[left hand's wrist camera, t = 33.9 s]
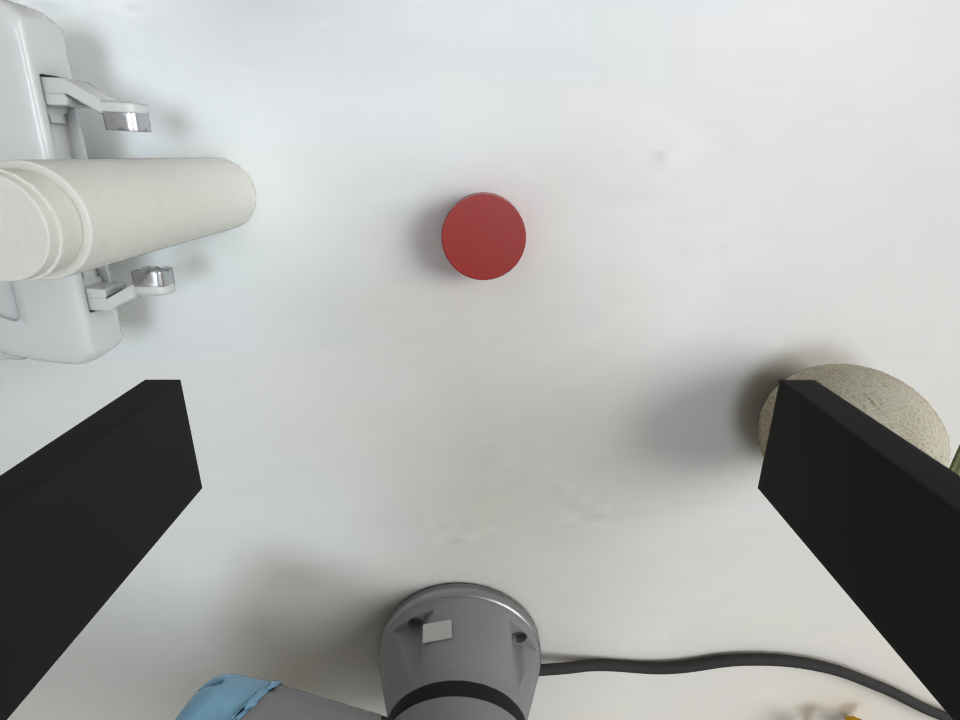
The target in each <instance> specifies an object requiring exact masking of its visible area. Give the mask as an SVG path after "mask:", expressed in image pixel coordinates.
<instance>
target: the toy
mask: <svg viewBox="0 0 960 720" xmlns="http://www.w3.org/2000/svg"><path fill="white" fill-rule="evenodd" d="M845 718H846V720H861V719H859V718H856V717H854V716H851V717H845Z"/></svg>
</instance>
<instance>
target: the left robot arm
mask: <svg viewBox="0 0 960 720" xmlns="http://www.w3.org/2000/svg"><path fill="white" fill-rule="evenodd" d="M201 489H202V485H201V480H200V475H199V470H198V465H197V460H196V455H195V450H194V445H193V440H192V435H191V430H190V425H189V420H188V415H187V410H186V405H185V400H184V395H183V391H182V386H181V381H180V380H144V381H143V382H141V383H140V384H138V385H137V386H135V387H134V388H132V389H131V390H129V391H128V392H126V393H125V394H123V395H122V396H120V397H119V398H117V399H116V400H114V401H113V402H111V403H109V404H108V405H106V406H105V407H103V408H102V409H100V410H99V411H97V412H96V413H94V414H93V415H91V416H90V417H88V418H87V419H85V420H84V421H82V422H81V423H79V424H78V425H76V426H75V427H73V428H72V429H70V430H69V431H67V432H66V433H64V434H63V435H61V436H60V437H58V438H57V439H55V440H54V441H52V442H51V443H49V444H48V445H46V446H45V447H43V448H41V449H40V450H38V451H37V452H35V453H34V454H32V455H31V456H29V457H28V458H26V459H25V460H23V461H22V462H20V463H19V464H17V465H16V466H14V467H13V468H11V469H10V470H8V471H7V472H5V473H4V474H2V475H1V476H0V720H7V719H8V718H9V716H10V715H11V714H12V713H13V712H14V711H15V709H16V708H17V707H18V706H19V705H20V703H21V702H22V701H23V700H24V699H25V697H26V696H27V695H28V694H29V693H30V692H31V690H32V689H33V688H34V687H35V686H36V684H37V683H38V682H39V681H40V680H41V679H42V677H43V676H44V675H45V674H46V673H47V671H48V670H49V669H50V668H51V667H52V665H53V664H54V663H55V662H56V661H57V660H58V658H59V657H60V656H61V655H62V654H63V652H64V651H65V650H66V649H67V648H68V646H69V645H70V644H71V643H72V642H73V641H74V639H75V638H76V637H77V636H78V635H79V633H80V632H81V631H82V630H83V629H84V628H85V626H86V625H87V624H88V623H89V622H90V620H91V619H92V618H93V617H94V616H95V614H96V613H97V612H98V611H99V610H100V609H101V607H102V606H103V605H104V604H105V603H106V601H107V600H108V599H109V598H110V597H111V595H112V594H113V593H114V592H115V591H116V590H117V588H118V587H119V586H120V585H121V584H122V582H123V581H124V580H125V579H126V578H127V576H128V575H129V574H130V573H131V572H132V571H133V569H134V568H135V567H136V566H137V565H138V563H139V562H140V561H141V560H142V559H143V558H144V556H145V555H146V554H147V553H148V552H149V550H150V549H151V548H152V547H153V546H154V544H155V543H156V542H157V541H158V540H159V539H160V537H161V536H162V535H163V534H164V533H165V531H166V530H167V529H168V528H169V527H170V525H171V524H172V523H173V522H174V521H175V520H176V518H177V517H178V516H179V515H180V514H181V512H182V511H183V510H184V509H185V508H186V507H187V505H188V504H189V503H190V502H191V501H192V499H193V498H194V497H195V496H196V495H197V493H198V492H199V491H200V490H201ZM758 489H759V490H760V491H761V492H762V493H763V495H764V496H765V497H766V498H767V499H768V501H769V502H770V503H771V504H772V505H773V507H774V508H775V509H776V510H777V511H778V512H779V514H780V515H781V516H782V517H783V518H784V520H785V521H786V522H787V523H788V524H789V525H790V527H791V528H792V529H793V530H794V531H795V533H796V534H797V535H798V536H799V537H800V539H801V540H802V541H803V542H804V543H805V544H806V546H807V547H808V548H809V549H810V550H811V552H812V553H813V554H814V555H815V556H816V558H817V559H818V560H819V561H820V562H821V563H822V565H823V566H824V567H825V568H826V569H827V571H828V572H829V573H830V574H831V575H832V576H833V578H834V579H835V580H836V581H837V582H838V584H839V585H840V586H841V587H842V588H843V590H844V591H845V592H846V593H847V594H848V595H849V597H850V598H851V599H852V600H853V601H854V603H855V604H856V605H857V606H858V607H859V609H860V610H861V611H862V612H863V613H864V614H865V616H866V617H867V618H868V619H869V620H870V622H871V623H872V624H873V625H874V626H875V628H876V629H877V630H878V631H879V632H880V633H881V635H882V636H883V637H884V638H885V639H886V641H887V642H888V643H889V644H890V645H891V646H892V648H893V649H894V650H895V651H896V652H897V654H898V655H899V656H900V657H901V658H902V660H903V661H904V662H905V663H906V664H907V665H908V667H909V668H910V669H911V670H912V671H913V673H914V674H915V675H916V676H917V677H918V679H919V680H920V681H921V682H922V683H923V684H924V686H925V687H926V688H927V689H928V690H929V692H930V693H931V694H932V695H933V696H934V698H935V699H936V700H937V701H938V702H939V703H940V705H941V706H942V707H943V708H944V709H945V711H946V712H945V711H942V710H940V709H937V708H935V707H932V706H930V705H928V704H926V703H924V702H922V701H920V700H918V699H916V698H914V697H912V696H910V695H908V694H906V693H904V692H902V691H900V690H898V689H896V688H894V687H892V686H889V685H887V684H885V683H882V682H880V681H877V680H875V679H872V678H870V677H868V676H865V675H863V674H860V673H858V672H855V671H852V670H850V669H847V668H844V667H841V666H837V665H834V664H830V663H826V662H822V661H817V660H812V659H807V658H801V657H794V656H786V655H771V654H737V655H724V656H716V657H709V658H703V659H697V660H690V661H682V662H669V663H647V662H633V661H621V660H581V661H573V662H563V663H549V664H541V650H540V642H539V635H538V631H537V628H536V626H535V623H534V621H533V620H532V618H531V616H530V615H529V614H528V613H527V611H526V610H525V609H524V608H523V607H522V606H521V605H520V604H519V603H517V602H516V601H515V600H513V599H512V598H510V597H509V596H507V595H505V594H503V593H501V592H499V591H497V590H494V589H491V588H488V587H484V586H479V585H474V584H445V585H439V586H435V587H431V588H428V589H425V590H423V591H420V592H418V593H416V594H414V595H412V596H410V597H409V598H407V599H406V600H405V601H403V602H402V603H401V604H400V605H399V606H398V607H397V608H396V609H395V610H394V611H393V612H392V613H391V615H390V616H389V618H388V620H387V622H386V624H385V626H384V629H383V633H382V638H381V642H380V647H379V669H380V675H381V681H382V687H383V693H384V699H385V705H386V711H387V717H385V716H381V715H379V714H376V713H373V712H370V711H366V710H363V709H359V708H356V707H353V706H349V705H346V704H342V703H339V702H336V701H332V700H329V699H325V698H322V697H319V696H315V695H312V694H309V693H306V692H303V691H300V690H297V689H294V688H291V687H287V686H284V685H282V684H283V683H282V682H280V681H277V680H275V681H272V682H269V681H264V680H260V679H255V678H251V677H246V676H242V675H238V674H223V675H220V676H217V677H215V678H213V679H212V680H210V681H209V682H207V683H206V684H205V685H203V686H202V687H201V688H200V689H199V690H198V691H197V693H196V694H195V695H194V696H193V697H192V698H191V699H190V701H189V702H188V703H187V704H186V706H185V707H184V708H183V710H182V711H181V712H180V714H179V715H178V716H177V718H176V719H175V720H528V716H529V712H530V708H531V704H532V700H533V696H534V692H535V688H536V684H537V680H538V676H546V675H560V674H571V673H579V672H587V671H616V672H629V673H641V674H678V673H688V672H696V671H702V670H709V669H715V668H722V667H731V666H784V667H794V668H801V669H807V670H813V671H818V672H823V673H827V674H831V675H835V676H839V677H842V678H845V679H848V680H850V681H853V682H856V683H858V684H861V685H863V686H866V687H868V688H871V689H873V690H876V691H878V692H880V693H883V694H885V695H887V696H890V697H892V698H894V699H896V700H898V701H900V702H902V703H904V704H906V705H908V706H910V707H912V708H914V709H916V710H918V711H920V712H922V713H924V714H926V715H929V716H931V717H933V718H936V719H938V720H960V476H959V475H958V474H956V473H955V472H953V471H952V470H950V469H949V468H947V467H946V466H944V465H943V464H941V463H940V462H938V461H937V460H935V459H934V458H932V457H931V456H929V455H928V454H926V453H925V452H923V451H922V450H920V449H919V448H917V447H915V446H914V445H912V444H911V443H909V442H908V441H906V440H905V439H903V438H902V437H900V436H899V435H897V434H896V433H894V432H893V431H891V430H890V429H888V428H887V427H885V426H884V425H882V424H881V423H879V422H878V421H876V420H875V419H873V418H872V417H870V416H869V415H867V414H866V413H864V412H863V411H861V410H860V409H858V408H857V407H855V406H854V405H852V404H850V403H849V402H847V401H846V400H844V399H843V398H841V397H840V396H838V395H837V394H835V393H834V392H832V391H831V390H829V389H828V388H826V387H825V386H823V385H822V384H820V383H819V382H817V381H816V380H780V381H779V386H778V391H777V395H776V400H775V405H774V410H773V415H772V420H771V425H770V430H769V435H768V440H767V445H766V450H765V455H764V460H763V465H762V470H761V475H760V480H759V485H758Z"/></svg>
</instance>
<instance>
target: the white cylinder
mask: <svg viewBox="0 0 960 720" xmlns="http://www.w3.org/2000/svg"><path fill="white" fill-rule="evenodd" d="M255 204H256V194H255V189H254V186H253V183H252V181H251V179H250V178H249V176H248V175H247V174H246V172H245V171H244V170H243V169H242V168H241V167H239V166H238V165H237V164H235V163H233V162H231V161H229V160H226V159H222V158H143V159H27V160H6V161H2V162H0V281H3V282H16V281H24V282H25V281H31V280H38V279H43V280H54V279H60V278H65V277H68V276H71V275H75V274H78V273H82V272H85V271H89V270H92V269H95V268H99V267H102V266H106V265H109V264H112V263H116V262H119V261H123V260H126V259H130V258H133V257H136V256H140V255H143V254H147V253H150V252H153V251H157V250H160V249H164V248H167V247H171V246H174V245H177V244H181V243H184V242H188V241H191V240H194V239H198V238H201V237H205V236H208V235H212V234H215V233H218V232H222V231H225V230H229V229H232V228H235V227H238V226H240V225H242V224H244V223H245V222H246V221H247V220H248V219H249V218H250V217H251V215H252V213H253V211H254V208H255Z"/></svg>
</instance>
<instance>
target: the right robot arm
mask: <svg viewBox="0 0 960 720" xmlns="http://www.w3.org/2000/svg"><path fill="white" fill-rule="evenodd" d="M78 108H92V109H94V110H96V111H98V112H99V113H101V114H103V118H104V123H105V128H106V130H117V131H134V132H136V131H137V132H151V126H150V118H149V111H148V105H142V104H135V103H124V102H119V101H117V100H115V99H114V98H112V97H111V96H109V95H107V94H106V93H104V92H103V91H101V90H99V89H98V88H96V87H95V86H93V85H91V84H90V83H87V82H82V81H77V80H73V79H72V74H71V69H70V64H69V58H68V53H67V48H66V42H65V37H64V33H63V31H62V29H61V28H60V27H59V26H58V25H57V24H56V23H55V22H53V21H52V20H51V19H50V18H48V17H47V16H46V15H44V14H43V13H41V12H40V11H37V10H35V9H33V8H30V7H27V6H24V5H21V4H17V3H14V2H10V1H6V0H0V162H2V161H6V160H27V159H88V156H87V151H86V146H85V141H84V136H83V131H82V126H81V120H80V115H79V110H78ZM131 272H132V278H133V284H132V285H130V286H129V287H127V288H126V284H125V283H124V282H112V280H111V275H110V270H109V265H106V266H102V267H99V268H95V269H92V270H89V271H85V272H82V273H78V274H75V275H71V276H68V277H65V278H60V279H54V280H43V279H38V280H31V281H25V282H24V281H16V282H3V281H0V359H27V358H29V359H34V360H41V361H47V362H56V363H66V364H84V363H87V362H90V361H93V360H95V359H97V358H99V357H101V356H103V355H105V354H106V353H108V352H109V351H111V350H112V349H113V348H114V347H115V346H116V345H117V344H118V343H119V342H120V341H121V340H122V331H121V327H120V322H119V316H118V311H117V308H118V307H120V306H122V305H125V304H127V303H130V302H131V301H133V300H135V299H136V298H138V297H140V296H142V295H164V294H168V293H171V292H173V291H175V290H176V288H175V281H174V275H173V269H172V267H162V268H160V267H158V266H146V267H143V268H141V269H137V270H134V271H131Z"/></svg>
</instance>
